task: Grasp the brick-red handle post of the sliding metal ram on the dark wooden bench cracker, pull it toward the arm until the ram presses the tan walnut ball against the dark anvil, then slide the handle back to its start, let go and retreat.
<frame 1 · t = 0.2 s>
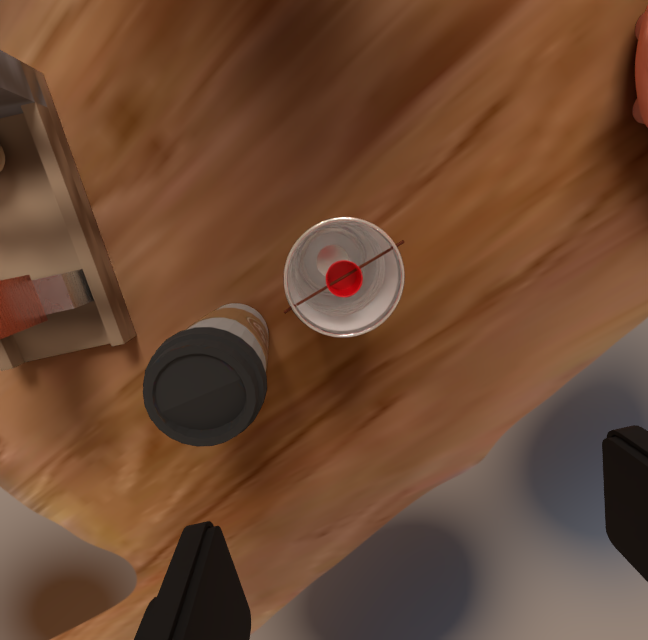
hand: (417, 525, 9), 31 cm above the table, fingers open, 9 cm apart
striped paper cup: (332, 261, 39), on the table
coffee cup: (238, 331, 40), on the table
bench: (31, 229, 36), on the table
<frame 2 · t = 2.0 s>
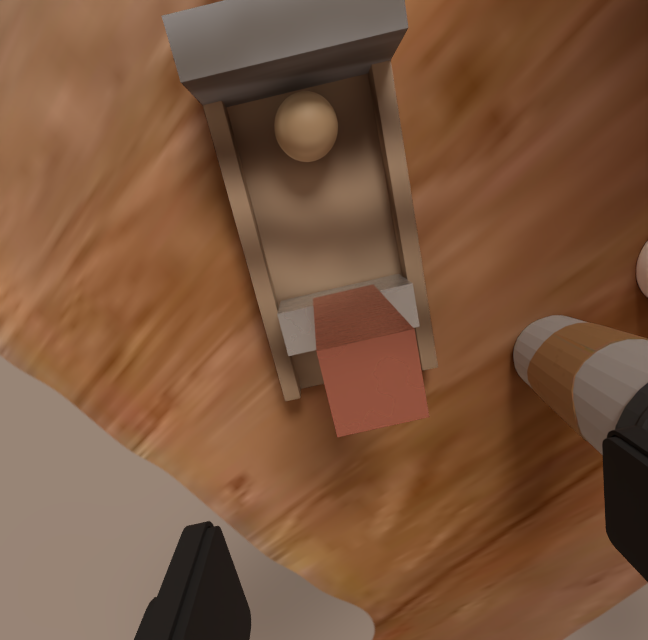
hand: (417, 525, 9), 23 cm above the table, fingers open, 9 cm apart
walnut: (306, 133, 27), point 1 cm above the table, touching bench
ram: (354, 334, 23), point 8 cm above the table, slide at 0.0 cm
coffee cup: (545, 349, 33), on the table
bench: (325, 226, 29), on the table
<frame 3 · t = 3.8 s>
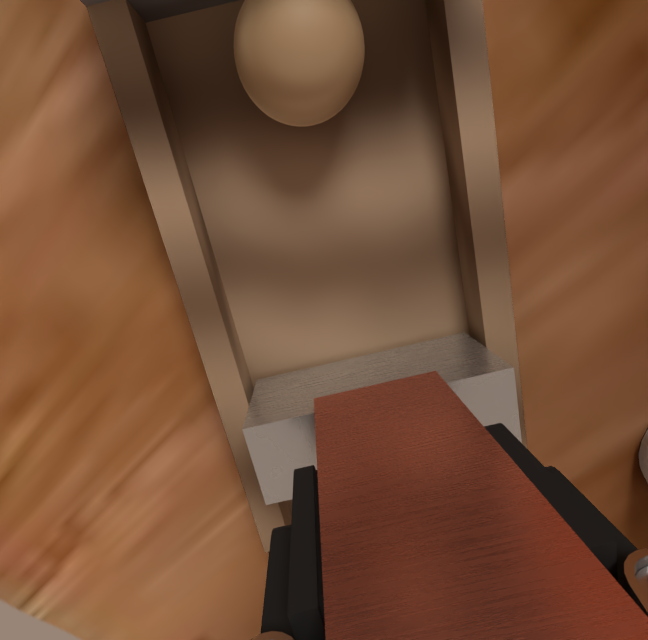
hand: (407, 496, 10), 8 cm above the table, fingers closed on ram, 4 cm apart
walnut: (300, 77, 14), point 1 cm above the table, touching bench
ram: (409, 501, 10), point 9 cm above the table, slide at 0.0 cm, touching gripper
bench: (335, 248, 17), on the table
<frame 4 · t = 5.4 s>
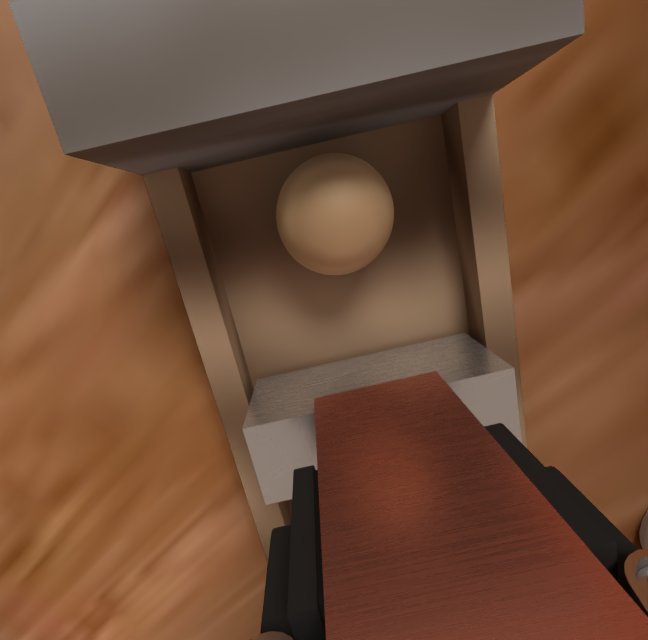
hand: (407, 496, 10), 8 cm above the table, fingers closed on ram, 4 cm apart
walnut: (330, 216, 15), point 1 cm above the table, touching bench
ram: (409, 502, 10), point 8 cm above the table, slide at 5.0 cm, touching gripper
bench: (358, 354, 18), on the table
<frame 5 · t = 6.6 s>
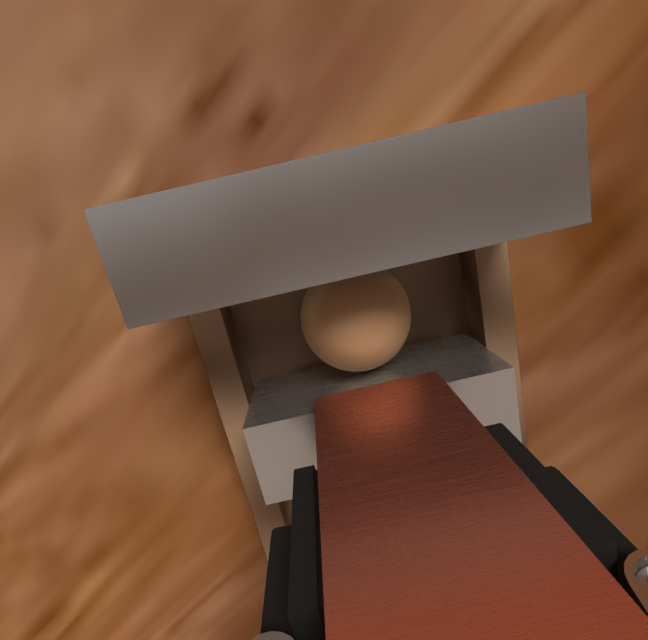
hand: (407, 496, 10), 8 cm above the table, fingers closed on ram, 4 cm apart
walnut: (352, 318, 16), point 1 cm above the table, tilted 16°, touching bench
ram: (409, 501, 10), point 8 cm above the table, slide at 9.2 cm, touching gripper
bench: (374, 433, 19), on the table
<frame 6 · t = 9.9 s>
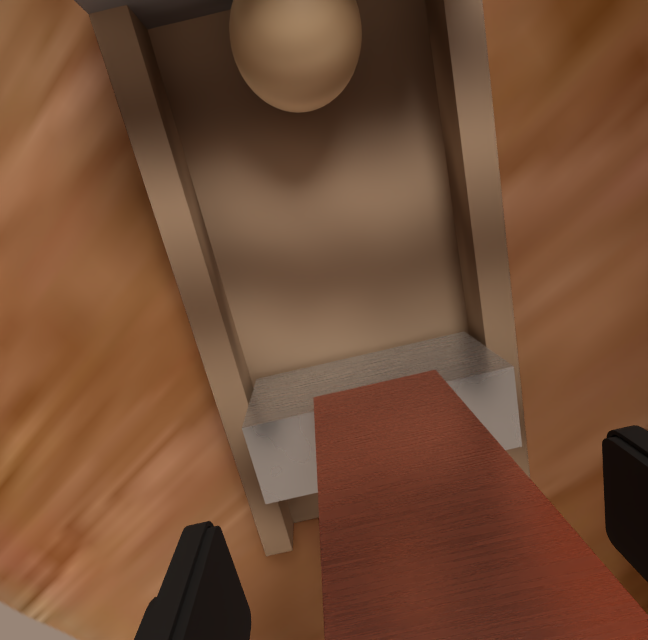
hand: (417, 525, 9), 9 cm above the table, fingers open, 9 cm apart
walnut: (301, 81, 14), point 1 cm above the table, tilted 18°, touching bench
ram: (408, 500, 10), point 8 cm above the table, slide at 0.2 cm
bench: (336, 252, 17), on the table
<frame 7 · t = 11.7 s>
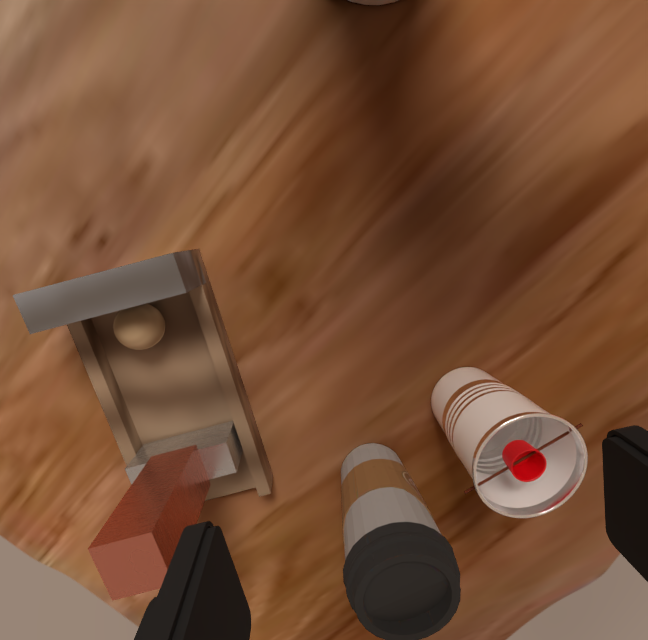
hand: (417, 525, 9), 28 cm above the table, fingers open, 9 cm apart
walnut: (151, 328, 35), point 1 cm above the table, tilted 20°, touching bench
ram: (169, 493, 31), point 9 cm above the table, slide at 0.2 cm
striped paper cup: (463, 398, 40), on the table
coffee cup: (370, 467, 41), on the table
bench: (179, 386, 38), on the table
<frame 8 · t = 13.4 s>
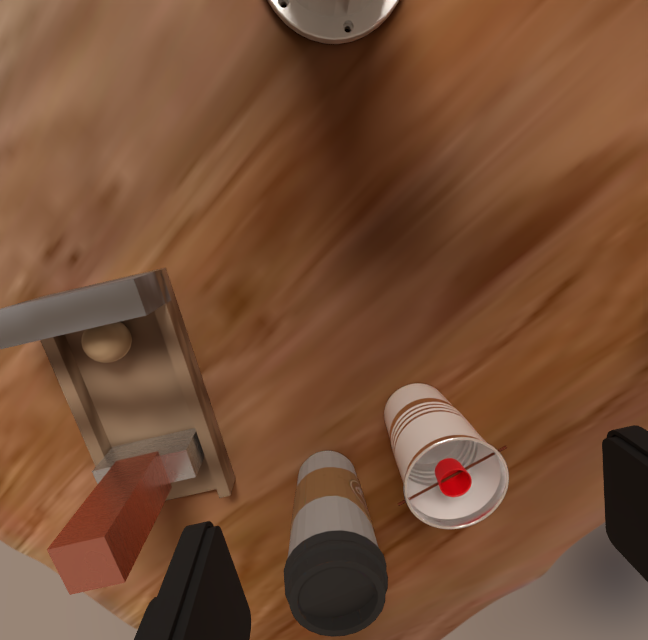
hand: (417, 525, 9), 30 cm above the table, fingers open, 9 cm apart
walnut: (119, 341, 37), point 1 cm above the table, tilted 19°, touching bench
ram: (130, 496, 34), point 8 cm above the table, slide at 0.2 cm
striped paper cup: (414, 411, 43), on the table
coffee cup: (326, 472, 44), on the table
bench: (146, 393, 40), on the table
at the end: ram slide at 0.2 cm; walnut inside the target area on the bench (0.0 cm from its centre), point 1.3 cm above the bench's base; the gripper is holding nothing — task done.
